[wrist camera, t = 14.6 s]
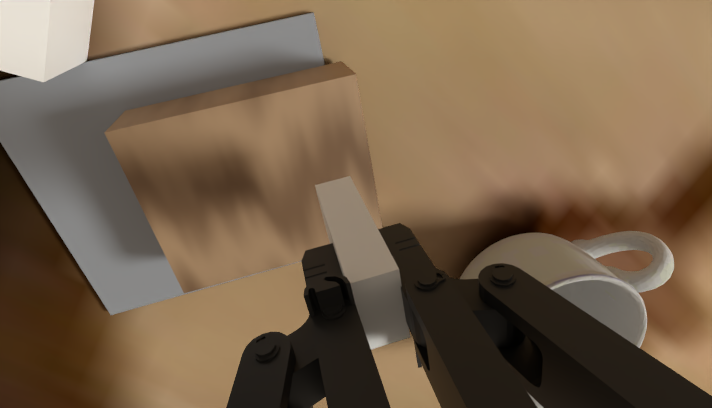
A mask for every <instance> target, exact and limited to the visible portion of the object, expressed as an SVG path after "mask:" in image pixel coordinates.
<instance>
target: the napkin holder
mask: <svg viewBox="0 0 712 408" xmlns="http://www.w3.org/2000/svg"><path fill="white" fill-rule="evenodd" d="M93 6H94V0H0V71H4V72H8V73H11V74H15V75H18V76H22V77H26V78H29V79H33V80H37V81H40V82H46V81H48V80H50V79H52V78H54V77H56V76H58V75H60V74H62V73H64V72H66V71H68V70H70V69H72V68H74V67H76V66H78V65H80V64H82V63H84V62H86V61H87V56H88V48H89V40H90V31H91V23H92V15H93Z"/></svg>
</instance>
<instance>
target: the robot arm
mask: <svg viewBox="0 0 712 408" xmlns="http://www.w3.org/2000/svg"><path fill="white" fill-rule="evenodd" d="M315 188H316V192H317V196H318V199H319V203H320V207H321V211H322V215H323V219H324V223H325V227H326V231H327V235H328V239H329V242H330V244H327V245H324V246H320V247H316V248H313V249H309V250H306V251H305V253H304V256H303V258H302V260H301V261H302V266H303V271H304V276H305V281H306V288H305V290H304V298H305V301H306V304H307V307H308V311H309V314H310V315H309V318H308V319H307V321H306V322H305V323H304V324H303V325H302V326H301V327H300V328H299V329H297V330H296V331H295V332H293V333H291V334H289V335H288V336H286V335H285V334H282V333H280V332H269V333H265V334H262V335H260V336H258V337H256V338H255V339H253V340H252V341H251V342H250V343H249V344H248V345H247V346H246V348H245V350H244V352H243V354H242V357H241V361H240V364H239V367H238V371H237V374H236V377H235V381H234V384H233V387H232V391H231V394H230V397H229V401H228V404H227V407H226V408H313V405H314V404H315V403H317V402H318V401H320V400H321V399H323V398H324V397H326V400H327V405H328V408H390V405H389V402H388V399H387V396H386V393H385V390H384V387H383V384H382V381H381V378H380V375H379V372H378V369H377V367H376V364H375V361H374V358H373V355H372V352H371V349H374V348H377V347H381V346H384V345H387V344H390V343H393V342H397V341H400V340H403V339H406V338H409V337H410V334H409V329H410V331H411V333H412V336H413V338H414V344H415V350H416V357H417V363H418V368H419V367H422V366H423V368H424V370H425V372H426V375H427V377H428V379H429V381H430V383H431V386H432V388H433V390H434V392H435V395H436V397H437V399H438V401H439V403H440V406H441V408H538V407H537V406H536V405H535V403H534V402H533V400H532V399H531V397H530V396H529V394H530V395H531V396H532V397H533V398H534V399H535V400H536V401H537V402H538V403H539V404H540V405H541V406H542V407H543V408H712V396H711V395H709V394H708V393H706V392H705V391H703V390H702V389H700V388H699V387H697V386H696V385H694V384H693V383H691V382H690V381H688V380H687V379H685V378H684V377H682V376H681V375H679V374H678V373H676V372H675V371H673V370H672V369H670V368H669V367H667V366H666V365H664V364H663V363H661V362H660V361H658V360H657V359H655V358H654V357H652V356H651V355H649V354H648V353H646V352H645V351H643V350H642V349H640V348H639V347H637V346H636V345H634V344H633V343H631V342H630V341H628V340H627V339H625V338H624V337H622V336H621V335H619V334H618V333H616V332H615V331H613V330H612V329H610V328H609V327H607V326H606V325H604V324H603V323H601V322H600V321H598V320H597V319H595V318H594V317H592V316H591V315H589V314H588V313H586V312H585V311H583V310H582V309H580V308H579V307H577V306H576V305H574V304H573V303H571V302H570V301H568V300H567V299H565V298H564V297H562V296H561V295H559V294H558V293H556V292H555V291H553V290H552V289H550V288H549V287H547V286H546V285H544V284H543V283H541V282H540V281H538V280H537V279H535V278H534V277H532V276H531V275H529V274H528V273H526V272H525V271H523V270H522V269H520V268H518V267H516V266H514V265H510V264H505V263H498V264H492V265H489V266H486V267H485V268H483V269H482V270H481V271H480V273H479V275H478V279H453V278H450V277H449V276H448V275H447V274H446V273H445V272H443V271H441V270H438V269H436V268H435V266H434V265H433V263H432V262H431V260H430V259H429V257H428V256H427V254H426V253H425V251H424V250H423V248H422V247H421V245H420V244H419V242H418V241H417V239H416V238H415V236H414V234H413V233H412V231H411V230H410V229H409V228H407V227H406V226H404V225H402V224H400V223H399V224H395V225H391V226H388V227H384V228H381V229H378V228H377V226H376V224H375V222H374V221H373V219H372V217H371V215H370V213H369V211H368V209H367V207H366V205H365V203H364V202H363V200H362V198H361V196H360V194H359V192H358V190H357V188H356V186H355V184H354V183H353V181H352V179H351V177H350V176H348V177H344V178H340V179H337V180H333V181H329V182H325V183H321V184H318V185H315ZM527 392H528V393H529V394H528V393H527Z"/></svg>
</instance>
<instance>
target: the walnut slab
mask: <svg viewBox="0 0 712 408" xmlns="http://www.w3.org/2000/svg"><path fill="white" fill-rule="evenodd" d="M104 133H105V135H106V137H107V139H108V141H109V143H110V145H111V147H112V149H113V151H114V153H115V155H116V157H117V159H118V161H119V163H120V165H121V167H122V169H123V171H124V173H125V175H126V177H127V179H128V181H129V183H130V185H131V187H132V189H133V192H134V194H135V196H136V198H137V200H138V202H139V204H140V206H141V208H142V210H143V212H144V214H145V216H146V218H147V220H148V222H149V224H150V226H151V228H152V230H153V232H154V234H155V236H156V238H157V240H158V242H159V244H160V246H161V248H162V250H163V252H164V254H165V256H166V258H167V260H168V262H169V264H170V266H171V268H172V270H173V272H174V274H175V276H176V278H177V280H178V282H179V284H180V286H181V288H182V290H183V292H184V293H188V292H191V291H195V290H198V289H202V288H206V287H209V286H213V285H216V284H220V283H224V282H227V281H231V280H234V279H238V278H241V277H245V276H249V275H252V274H256V273H259V272H263V271H267V270H270V269H274V268H277V267H281V266H285V265H288V264H292V263H295V262H299V261H301V260H302V258H303V256H304V253H305V251H306V250H309V249H313V248H316V247H320V246H324V245H327V244H330V242H329V239H328V235H327V231H326V227H325V223H324V219H323V215H322V211H321V207H320V203H319V199H318V196H317V192H316V188H315V185H318V184H321V183H325V182H329V181H333V180H337V179H340V178H344V177H348V176H350V177H351V179H352V181H353V183H354V184H355V186H356V188H357V190H358V192H359V194H360V196H361V198H362V200H363V202H364V203H365V205H366V207H367V209H368V211H369V213H370V215H371V217H372V219H373V221H374V222H375V224H376V226H377V228H378V229H381V228H382V222H381V216H380V210H379V204H378V199H377V193H376V187H375V181H374V175H373V169H372V163H371V158H370V152H369V146H368V140H367V134H366V128H365V122H364V117H363V111H362V105H361V99H360V93H359V87H358V81H357V76H356V73H354V72H353V71H352V70H351V69H350V68H349V67H347V66H346V65H345V64H344V63H343V62H336V63H332V64H328V65H323V66H319V67H315V68H310V69H306V70H301V71H297V72H293V73H288V74H284V75H279V76H275V77H271V78H266V79H262V80H257V81H253V82H249V83H244V84H240V85H236V86H231V87H227V88H222V89H218V90H214V91H209V92H205V93H200V94H196V95H192V96H187V97H183V98H178V99H174V100H170V101H165V102H161V103H156V104H152V105H148V106H143V107H139V108H135V109H130V110H126V111H124V112H123V113H122V115H121V116H120V117H119V118H118V119H117V120H116V121H115V122H114V123H113V124H112V125H111V126H110V127H109V128H108V129H107V130H106V131H105V132H104Z"/></svg>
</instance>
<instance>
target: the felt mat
mask: <svg viewBox="0 0 712 408" xmlns="http://www.w3.org/2000/svg"><path fill="white" fill-rule="evenodd" d="M323 65H325V64H324V59H323V54H322V50H321V45H320V40H319V35H318V31H317V26H316V21H315V16H314V13H313V12H312V13H307V14H302V15H298V16H293V17H289V18H284V19H279V20H275V21H270V22H266V23H261V24H257V25H252V26H247V27H243V28H238V29H234V30H229V31H224V32H220V33H215V34H211V35H206V36H201V37H197V38H192V39H188V40H183V41H179V42H174V43H169V44H165V45H160V46H156V47H151V48H146V49H142V50H137V51H133V52H128V53H123V54H119V55H114V56H110V57H105V58H100V59H96V60H91V61H87V62H84V63H82V64H80V65H78V66H76V67H74V68H72V69H70V70H68V71H66V72H64V73H62V74H60V75H58V76H56V77H54V78H52V79H50V80H48V81H46V82H40V81H37V80H33V79H29V78H26V77H22V76H18V77H13V78H9V79H4V80H0V142H1V144H2V145H3V147H4V149H5V150H6V152H7V153H8V155H9V156H10V158H11V160H12V161H13V163H14V164H15V166H16V167H17V169H18V171H19V172H20V174H21V175H22V177H23V178H24V180H25V181H26V183H27V185H28V186H29V188H30V189H31V191H32V192H33V194H34V196H35V197H36V199H37V200H38V202H39V203H40V205H41V207H42V208H43V210H44V211H45V213H46V214H47V216H48V218H49V219H50V221H51V222H52V224H53V225H54V227H55V229H56V230H57V232H58V233H59V235H60V236H61V238H62V239H63V241H64V243H65V244H66V246H67V247H68V249H69V250H70V252H71V254H72V255H73V257H74V258H75V260H76V261H77V263H78V265H79V266H80V268H81V269H82V271H83V272H84V274H85V276H86V277H87V279H88V280H89V282H90V283H91V285H92V287H93V288H94V290H95V291H96V293H97V294H98V296H99V297H100V299H101V301H102V302H103V304H104V305H105V307H106V308H107V310H108V312H109V313H110V315H113V314H117V313H120V312H124V311H127V310H131V309H134V308H138V307H142V306H145V305H149V304H152V303H156V302H159V301H163V300H166V299H170V298H173V297H177V296H180V295H184V294H188V293H191V292H195V291H198V290H202V289H205V288H202V289H198V290H195V291H191V292H188V293H184V292H183V290H182V288H181V286H180V284H179V282H178V280H177V278H176V276H175V274H174V272H173V270H172V268H171V266H170V264H169V262H168V260H167V258H166V256H165V254H164V252H163V250H162V248H161V246H160V244H159V242H158V240H157V238H156V236H155V234H154V232H153V230H152V228H151V226H150V224H149V222H148V220H147V218H146V216H145V214H144V212H143V210H142V208H141V206H140V204H139V202H138V200H137V198H136V196H135V194H134V192H133V189H132V187H131V185H130V183H129V181H128V179H127V177H126V175H125V173H124V171H123V169H122V167H121V165H120V163H119V161H118V159H117V157H116V155H115V153H114V151H113V149H112V147H111V145H110V143H109V141H108V139H107V137H106V135H105V133H104V132H105V131H106V130H107V129H108V128H109V127H110V126H111V125H112V124H113V123H114V122H115V121H116V120H117V119H118V118H119V117H120V116H121V115H122V113H123V112H124V111H126V110H130V109H135V108H139V107H143V106H148V105H152V104H156V103H161V102H165V101H170V100H174V99H178V98H183V97H187V96H192V95H196V94H200V93H205V92H209V91H214V90H218V89H222V88H227V87H231V86H236V85H240V84H244V83H249V82H253V81H257V80H262V79H266V78H271V77H275V76H279V75H284V74H288V73H293V72H297V71H301V70H306V69H310V68H315V67H319V66H323ZM299 262H301V261H299ZM295 263H297V262H295ZM292 264H294V263H292ZM288 265H290V264H288ZM285 266H287V265H285ZM281 267H283V266H281ZM277 268H279V267H277ZM274 269H276V268H274ZM270 270H272V269H270ZM267 271H269V270H267ZM263 272H265V271H263ZM259 273H262V272H259ZM256 274H258V273H256ZM252 275H255V274H252ZM249 276H251V275H249ZM245 277H248V276H245ZM241 278H244V277H241ZM241 278H238V279H241ZM234 280H237V279H234ZM231 281H233V280H231ZM227 282H230V281H227ZM224 283H226V282H224ZM220 284H223V283H220ZM216 285H219V284H216ZM216 285H213V286H216ZM209 287H212V286H209ZM209 287H206V288H209Z"/></svg>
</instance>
